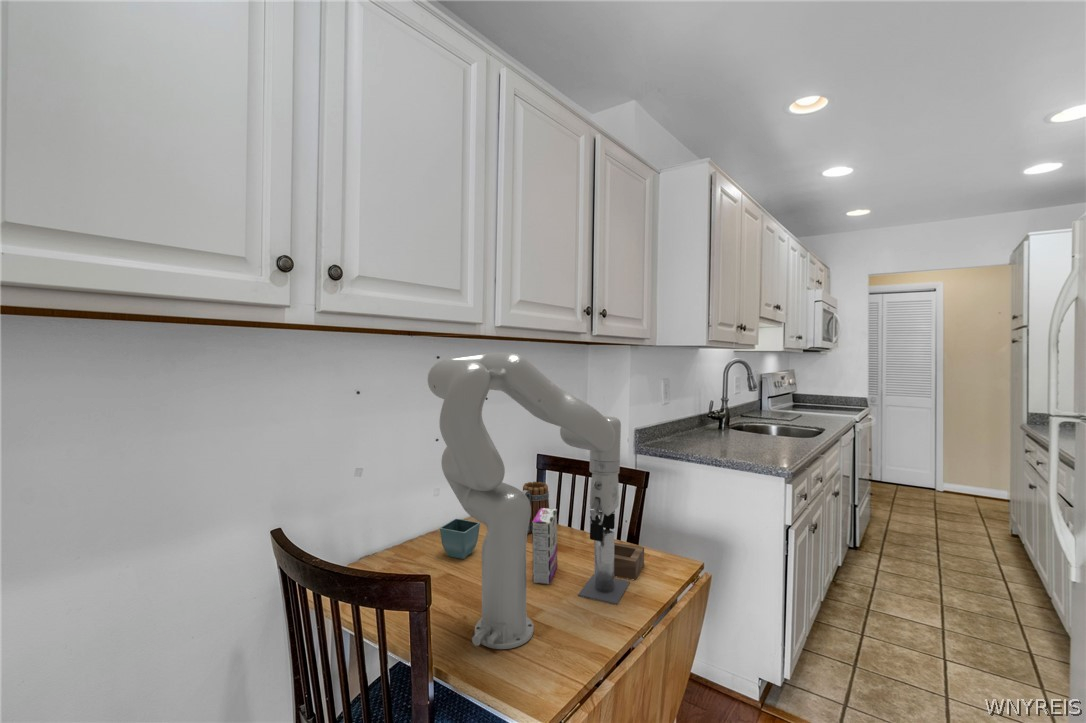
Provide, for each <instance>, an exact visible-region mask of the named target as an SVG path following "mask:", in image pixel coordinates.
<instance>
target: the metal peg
mask: <svg viewBox="0 0 1086 723" xmlns="http://www.w3.org/2000/svg"><path fill="white" fill-rule="evenodd" d="M593 541H594V544H593V545H594V550H593V551H594V555H593V556H594V562H593V563H594V564H593V565H594V570H593V571H594V574H595V589H596V590H597V591H599V592H602V593H609V592H612V591H613V590H614V578H615V576H614V542H615V532H614V531H612V529H607V528H603V541H595V540H593Z"/></svg>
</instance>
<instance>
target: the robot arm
mask: <svg viewBox="0 0 1086 723" xmlns="http://www.w3.org/2000/svg"><path fill="white" fill-rule="evenodd" d="M427 385H428V388H429V389H430V391H431V393H433V395H435V396H436V397H437V398H440V399H442V400H443V402H442V406H441V410H440V412H439V413H440V414H439V429H440V430H439V431H440V434H441V437H442V439H443V441H444V443H445V445H446V447H445V449H444V450H443V453H442V456H441V469H442V473H443V476H444V477H445V479H446V481H447V482H448V485H449V486H450V488H451V490H452V492H453V493H454V495H455V497H456V498H457V500H458V502H459V504H460V506H461V507H462V509H463V510H464V511H465V512H466V514H468V516H470V517H471V518H473V519H474V520H476V521H477V522H479V523H482V524H483V525H485V526H486V528H487V529H486V534H485V537H484V539H483V543H482V547H481V618H480V619H479V620H478V621H477V622H476V624H475V626H474V635H473V636H472V638H471V642H472V644H473V645H474V646H476V647H478V646H480V645H482V646H485V647H487V648H490V649H493V650H494V649H495V650H508V649H509V650H510V649H513V648H517V647H521V646H522V645H524V644H526V643H527V642H528V641H530V640H531V639H532V637H533V635H534V623H533V621H532V620H531V618H529V617H528V616H527V542H528V540H527V539H528V533H527V532H528V526H529V521H530V516H531V506H530V502H529V500H528V498H527V496H526V495H525V494H524V493H523V492H522V491H523V490H521V489H519V488H517V487H515V486H513V485H510V484H508V483H505V482H503V481H504V479H505V478H504V477H505V472H506V471H505V470H506V468H505V464H504V461H503V458H502V456H501V455H500V452H499V451H498V449H497V446H495V443H494V441H493V440H492V438H491V436H490V434H489V432H488V430H487V427H486V426H485V423H484V420H483V408H484V404H485V401H486V398H487V396H488V393H489V392H490V391H501V392H503V393H505V394H506V395H507V396H508V397H509V398H511V399H512V400H513V401H514V402H516V403H517V404H519V406H521V407H522V408H524V409H525V410H526V411H528V412H529V413H530V414H531V415H532V416H534V417H535V418H537V419H539V420H541V421H543V422H546V423H548V424H551V425H554V426H558V427H560V428H559V436H560V438H561V440H562V442H564V443H565V444H566V445H568V446H570V447H573V448H576V449H581V450H585V451H586V450H587V451H589V471H588V472H590V473H592V474H591V480H590V494H589V515H590V516H589V518H590V520H589V539H590V540H591V541H594V540H595V541H603V529H607V530H614V529H615V525H616V524H615V521H616V520H615V519H616V518H615V517H616V513H615V512H616V510H617V509H618V507H619V502H620V501H619V474H620V468H621V467H620V465H621V461H620V459H621V436H622V435H621V432H622V424H621V420H620V419H619V418H617V417H614V416H604V415H603V414H602V413H601V412H600V411H598V410H597V409H596V408H594V407H593V406H591V405H590V404H588V403H587V402H585V401H583V400H581V399H579V398H578V397H577V396H574V395H572V394H571V393H569V392H567V391H566V390H564V389H562V388H560V387H559V386H557V385H556V384H555V383H554V382H553V381H551V379H550V378H548V377H547V376H546V375H544V373H542V372H541V371H540V370H539V369H538V368H537V367H536V366H534V365H533V363H531V362H530V361H529V360H528V359H526V358H525V357H524V356H522V355H521V354H518V353H513V352H488V353H483V354H477V355H469V356H463V357H461V356H460V357H454V358H446V359H441V360H440V361H438V362H436V363H435V364H433V366H432V367H431V368H430V370H429V372H428V374H427Z"/></svg>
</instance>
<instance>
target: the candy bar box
mask: <svg viewBox="0 0 1086 723" xmlns="http://www.w3.org/2000/svg"><path fill="white" fill-rule="evenodd" d="M557 511H558V509H557V508H550V507H549V508H540V510H539V512H538V513H537V515H536V517H535V518H534V520H533V521H532V534H531V537H532V541H531V542H532V583H533V584H537V583H540V585H551V584H552V581H553V578H554V575H555V573H556V570H557V568H558V521H557V520H558V515H557V513H558V512H557Z"/></svg>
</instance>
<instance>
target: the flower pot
mask: <svg viewBox="0 0 1086 723" xmlns="http://www.w3.org/2000/svg"><path fill="white" fill-rule="evenodd" d="M480 525H481V522H480V521H473V520H468V519H467V520H466V519H463V518H462V519H461V518H454V519H452V520H451V521H449V522H448V523H446V524H444V525H442V526H440V527H439V533H440V538H441V539H440V540H441V544H442V547H443V549H444V551H445V553H446V555H447V556H448V557H451V558H456V559H459V560H463V559H465V558H466V557H468V556H469V555H470V554H472V553H473V552H474V550H475V548H476V546H477V543H478V539H479V534H480V527H481V526H480Z"/></svg>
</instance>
